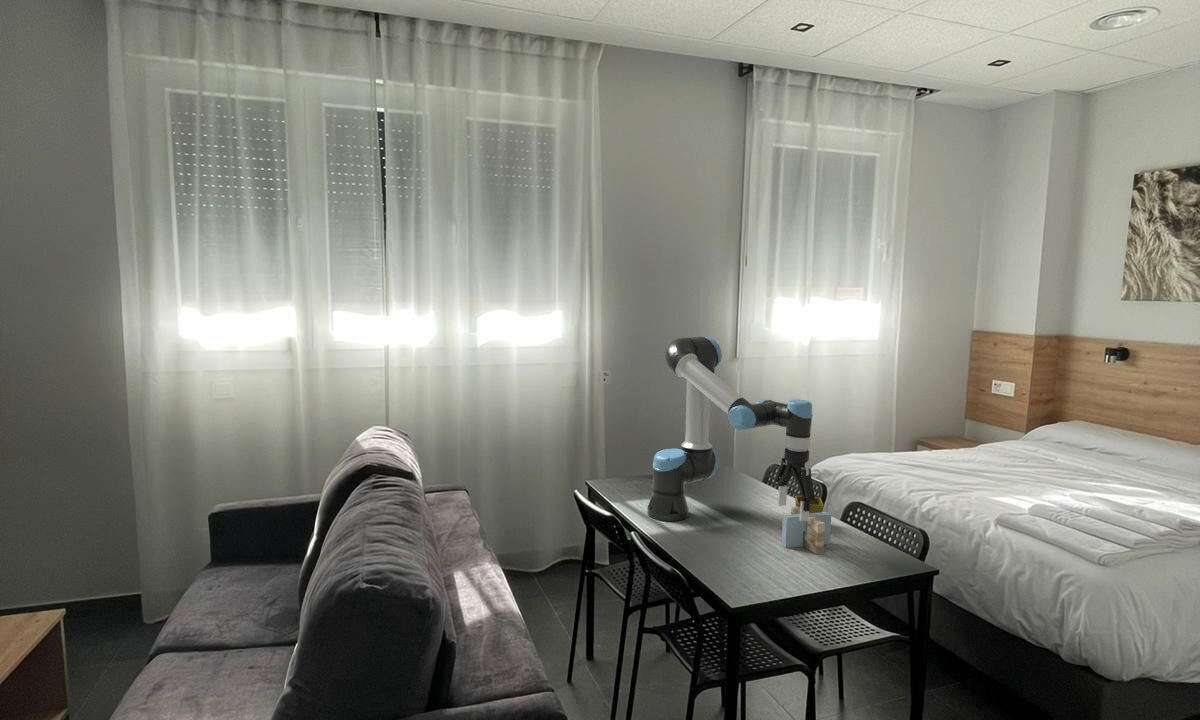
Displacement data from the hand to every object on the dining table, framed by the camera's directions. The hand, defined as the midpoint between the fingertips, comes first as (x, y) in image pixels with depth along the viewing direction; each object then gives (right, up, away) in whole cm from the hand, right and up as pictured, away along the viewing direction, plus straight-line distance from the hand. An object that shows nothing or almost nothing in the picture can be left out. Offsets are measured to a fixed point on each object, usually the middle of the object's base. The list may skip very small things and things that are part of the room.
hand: (792, 512), depth 210 cm
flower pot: (+11, -9, +20) cm, 25 cm away
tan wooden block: (+5, -11, +2) cm, 12 cm away
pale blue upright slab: (+5, -11, +2) cm, 12 cm away
